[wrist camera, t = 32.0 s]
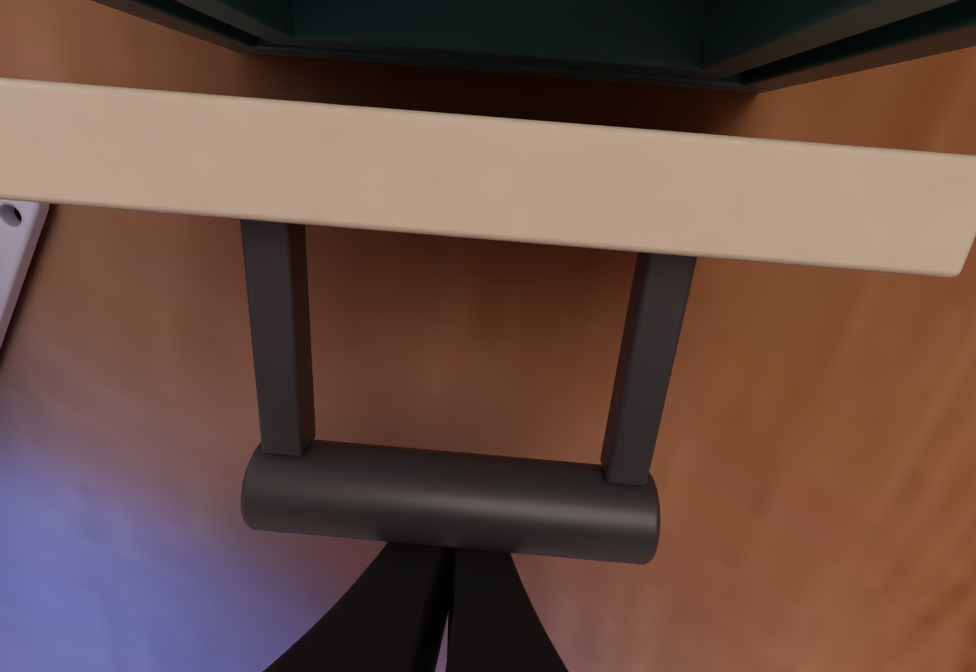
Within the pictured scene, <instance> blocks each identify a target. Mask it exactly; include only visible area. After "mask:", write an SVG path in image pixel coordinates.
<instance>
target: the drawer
mask: <svg viewBox="0 0 976 672" xmlns="http://www.w3.org/2000/svg"><path fill="white" fill-rule="evenodd" d="M175 1H177V2H179V3H182V4H184V5H186V6H188V7H191V8H193V9H195V10H197V11H200V12H202V13H204V14H207V15H209V16H211V17H213V18H216V19H218V20H220V21H223V22H225V23H227V24H229V25H232V26H234V27H236V28H238V29H241V30H243V31H245V32H248V33H250V34H252V35H254V36H258V37H260V38H262V39H264V40H267V41H269V42H271V43H273V44H282V45H295V46H308V47H320V48H333V49H346V50H359V51H371V52H384V53H397V54H410V55H422V56H435V57H448V58H460V59H473V60H486V61H499V62H511V63H524V64H537V65H550V66H562V67H575V68H588V69H601V70H613V71H626V72H639V73H651V74H664V75H677V76H690V77H702V78H715V79H721V78H725V77H728V76H731V75H734V74H736V73H740V72H743V71H746V70H749V69H752V68H755V67H758V66H761V65H764V64H767V63H770V62H773V61H776V60H779V59H782V58H785V57H788V56H791V55H795V54H798V53H801V52H804V51H807V50H810V49H813V48H816V47H819V46H822V45H825V44H828V43H831V42H834V41H837V40H840V39H843V38H846V37H849V36H852V35H855V34H858V33H862V32H865V31H868V30H871V29H874V28H877V27H880V26H883V25H886V24H889V23H892V22H895V21H898V20H901V19H904V18H907V17H910V16H913V15H916V14H919V13H922V12H925V11H929V10H932V9H935V8H938V7H941V6H944V5H947V4H950V3H953V2H956V1H959V0H175ZM0 199H3V200H15V201H27V202H39V203H51V204H63V205H75V206H87V207H99V208H112V209H124V210H136V211H148V212H160V213H172V214H184V215H196V216H208V217H220V218H232V219H240V221H241V231H242V242H243V252H244V263H245V273H246V284H247V294H248V304H249V315H250V325H251V336H252V346H253V357H254V367H255V378H256V388H257V399H258V409H259V420H260V430H261V441H262V442H261V443H260V444H259V445H258V446H257V448H256V449H255V451H254V453H253V455H252V457H251V459H250V461H249V464H248V466H247V469H246V472H245V476H244V480H243V485H242V492H241V512H242V517H243V520H244V522H245V523H246V525H247V526H249V527H250V528H252V529H254V530H264V531H275V532H286V533H297V534H308V535H320V536H331V537H342V538H353V539H364V540H375V541H386V542H397V543H408V544H419V545H431V546H442V547H453V548H464V549H475V550H486V551H497V552H508V553H519V554H530V555H542V556H553V557H564V558H575V559H586V560H597V561H608V562H619V563H630V564H641V565H643V564H646V563H649V562H650V561H651V560H652V559H653V557H654V555H655V553H656V549H657V545H658V540H659V534H660V505H659V498H658V493H657V488H656V485H655V482H654V479H653V477H652V475H651V474H650V473H649V470H650V466H651V461H652V457H653V452H654V448H655V443H656V439H657V434H658V430H659V425H660V421H661V416H662V412H663V407H664V403H665V398H666V394H667V389H668V385H669V380H670V376H671V372H672V367H673V363H674V358H675V354H676V349H677V345H678V340H679V336H680V331H681V327H682V322H683V318H684V313H685V309H686V304H687V300H688V295H689V291H690V286H691V282H692V277H693V273H694V268H695V264H696V259H697V257H704V258H716V259H728V260H740V261H752V262H764V263H776V264H788V265H800V266H812V267H824V268H837V269H849V270H861V271H873V272H885V273H897V274H909V275H921V276H933V277H945V278H948V277H953V276H957V275H958V274H959V273H960V272H961V270H962V268H963V265H964V263H965V260H966V258H967V256H968V253H969V251H970V248H971V246H972V243H973V241H974V239H975V236H976V155H965V154H952V153H939V152H927V151H914V150H902V149H889V148H877V147H864V146H852V145H839V144H827V143H814V142H802V141H789V140H777V139H764V138H752V137H739V136H727V135H714V134H702V133H689V132H676V131H664V130H651V129H639V128H626V127H614V126H601V125H589V124H576V123H564V122H551V121H539V120H526V119H514V118H501V117H489V116H476V115H464V114H451V113H439V112H426V111H414V110H401V109H388V108H376V107H363V106H351V105H338V104H326V103H313V102H301V101H288V100H276V99H263V98H251V97H238V96H226V95H213V94H201V93H188V92H176V91H163V90H151V89H138V88H125V87H113V86H100V85H88V84H75V83H63V82H50V81H38V80H25V79H13V78H0ZM305 225H317V226H329V227H341V228H353V229H365V230H377V231H389V232H402V233H414V234H426V235H438V236H450V237H462V238H474V239H486V240H498V241H510V242H522V243H534V244H547V245H559V246H571V247H583V248H595V249H607V250H619V251H631V252H638V254H637V260H636V265H635V271H634V276H633V282H632V287H631V293H630V298H629V304H628V309H627V315H626V321H625V326H624V332H623V337H622V343H621V348H620V354H619V359H618V365H617V370H616V376H615V381H614V387H613V392H612V398H611V404H610V409H609V415H608V420H607V426H606V431H605V437H604V442H603V448H602V453H601V459H600V460H601V464H602V465H599V464H587V463H576V462H564V461H553V460H542V459H530V458H519V457H507V456H496V455H485V454H473V453H462V452H451V451H439V450H428V449H416V448H405V447H394V446H382V445H371V444H359V443H348V442H337V441H325V440H314V438H315V436H316V433H315V413H314V394H313V374H312V355H311V335H310V316H309V296H308V277H307V258H306V238H305Z"/></svg>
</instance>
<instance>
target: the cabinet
mask: <svg viewBox="0 0 976 672" xmlns="http://www.w3.org/2000/svg"><path fill="white" fill-rule="evenodd" d="M91 1H94V2H97V3H100V4H103V5H105V6H108V7H111V8H114V9H117V10H120V11H122V12H125V13H128V14H131V15H134V16H137V17H140V18H142V19H145V20H148V21H151V22H154V23H157V24H159V25H162V26H165V27H168V28H171V29H174V30H176V31H179V32H182V33H185V34H188V35H191V36H193V37H196V38H199V39H202V40H205V41H208V42H211V43H213V44H216V45H219V46H223V47H225V48H228V49H231V50H234V51H236V52H240V53H252V54H265V55H278V56H290V57H303V58H316V59H328V60H341V61H354V62H366V63H379V64H392V65H404V66H417V67H430V68H443V69H455V70H468V71H481V72H493V73H506V74H519V75H531V76H544V77H557V78H569V79H582V80H595V81H608V82H620V83H633V84H646V85H658V86H671V87H684V88H696V89H709V90H722V91H734V92H747V93H763V92H767V91H772V90H775V89H781V88H785V87H790V86H794V85H799V84H803V83H808V82H812V81H817V80H822V79H826V78H831V77H835V76H840V75H844V74H849V73H853V72H858V71H863V70H867V69H872V68H876V67H881V66H885V65H890V64H894V63H899V62H904V61H908V60H913V59H917V58H922V57H926V56H931V55H935V54H940V53H944V52H949V51H954V50H958V49H963V48H967V47H972V46H976V0H959V1H956V2H953V3H950V4H947V5H944V6H941V7H938V8H935V9H932V10H929V11H925V12H922V13H919V14H916V15H913V16H910V17H907V18H904V19H901V20H898V21H895V22H892V23H889V24H886V25H883V26H880V27H877V28H874V29H871V30H868V31H865V32H862V33H858V34H855V35H852V36H849V37H846V38H843V39H840V40H837V41H834V42H831V43H828V44H825V45H822V46H819V47H816V48H813V49H810V50H807V51H804V52H801V53H798V54H795V55H791V56H788V57H785V58H782V59H779V60H776V61H773V62H770V63H767V64H764V65H761V66H758V67H755V68H752V69H749V70H746V71H743V72H740V73H736V74H734V75H731V76H728V77H725V78H721V79H715V78H702V77H690V76H677V75H664V74H651V73H639V72H626V71H613V70H601V69H588V68H575V67H562V66H550V65H537V64H524V63H511V62H499V61H486V60H473V59H460V58H448V57H435V56H422V55H410V54H397V53H384V52H371V51H359V50H346V49H333V48H320V47H308V46H295V45H282V44H273V43H271V42H269V41H267V40H264V39H262V38H260V37H258V36H254V35H252V34H250V33H248V32H245V31H243V30H241V29H238V28H236V27H234V26H232V25H229V24H227V23H225V22H223V21H220V20H218V19H216V18H213V17H211V16H209V15H207V14H204V13H202V12H200V11H197V10H195V9H193V8H191V7H188V6H186V5H184V4H182V3H179V2H177V1H175V0H91Z"/></svg>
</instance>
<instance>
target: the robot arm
mask: <svg viewBox="0 0 976 672" xmlns="http://www.w3.org/2000/svg"><path fill="white" fill-rule="evenodd" d="M49 205H50V203H39V202H27V201H15V200H3V199H0V348H1V345H2V342H3V339H4V337H5V334H6V331H7V328H8V325H9V322H10V319H11V317H12V314H13V311H14V308H15V305H16V302H17V299H18V296H19V294H20V291H21V288H22V285H23V282H24V279H25V276H26V274H27V271H28V268H29V265H30V262H31V259H32V256H33V253H34V251H35V248H36V245H37V242H38V239H39V236H40V233H41V230H42V228H43V225H44V222H45V219H46V216H47V213H48V210H49ZM15 208H16V209H17V210H18V211H19V212H20V214H21V221H20V220H19V219H18V218H17V216H16V214H15ZM448 610H449V614H448ZM447 615H448V644H447V663H446V671H445V672H568V670H567V668H566V667H565V665H564V663H563V662H562V660H561V658H560V657H559V655H558V653H557V651H556V650H555V648H554V646H553V644H552V642H551V641H550V639H549V637H548V635H547V633H546V632H545V630H544V628H543V626H542V624H541V622H540V620H539V618H538V616H537V614H536V612H535V610H534V608H533V606H532V604H531V601H530V599H529V597H528V595H527V593H526V591H525V588H524V586H523V584H522V582H521V579H520V577H519V575H518V572H517V570H516V567H515V565H514V562H513V559H512V557H511V554H510V553H508V552H497V551H486V550H475V549H464V548H453V547H442V546H431V545H419V544H408V543H397V542H388V543H387V544H386V546H385V547H384V548H383V550H382V551H381V552H380V553H379V555H378V556H377V557H376V558H375V559H374V561H373V562H372V563H371V564H370V565H369V567H368V568H367V569H366V570H365V571H364V572H363V574H362V575H361V576H360V577H359V578H358V580H357V581H356V582H355V583H354V584H353V585H352V586H351V588H350V589H349V590H348V591H347V592H346V593H345V594H344V595H343V596H342V597H341V598H340V600H339V601H338V602H337V603H336V604H335V605H334V606H333V607H332V608H331V609H330V610H329V611H328V612H327V613H326V614H325V615H324V616H323V617H322V618H321V619H320V620H319V621H318V622H317V623H316V624H315V625H314V626H313V627H312V628H311V629H310V630H309V631H308V632H306V633H305V634H304V635H303V636H302V637H301V638H300V639H299V640H298V641H297V642H296V643H294V644H293V645H292V646H291V647H290V648H289V649H288V650H287V651H286V652H285V653H284V654H282V655H281V656H280V657H279V658H278V659H277V660H276V661H275V662H273V663H272V664H271V665H270V666H269V667H268V668H266V669H265V670H264V671H263V672H435V670H436V665H437V661H438V656H439V652H440V647H441V642H442V638H443V633H444V629H445V624H446V619H447Z"/></svg>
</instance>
